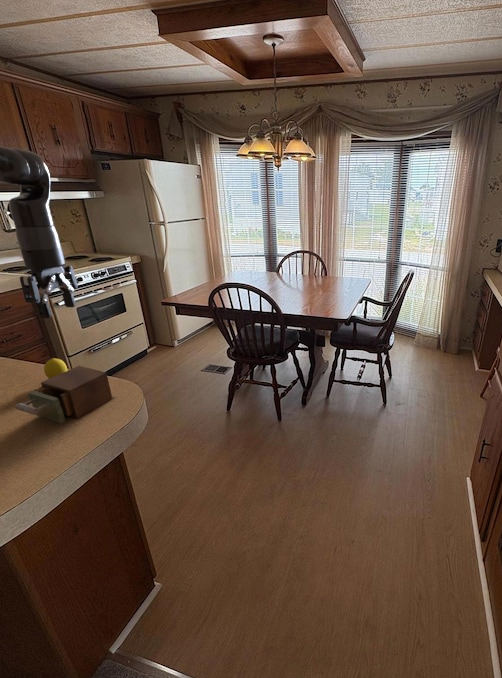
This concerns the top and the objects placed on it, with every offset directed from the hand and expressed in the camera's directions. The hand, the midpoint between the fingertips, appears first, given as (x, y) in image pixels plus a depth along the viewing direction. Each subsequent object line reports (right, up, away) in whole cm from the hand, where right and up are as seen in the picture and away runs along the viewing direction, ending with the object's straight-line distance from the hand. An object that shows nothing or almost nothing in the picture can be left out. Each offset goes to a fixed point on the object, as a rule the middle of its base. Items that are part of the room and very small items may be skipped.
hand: (59, 312), depth 85 cm
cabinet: (-2, -25, +11) cm, 28 cm away
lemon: (-17, -20, +22) cm, 35 cm away
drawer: (-4, -27, +5) cm, 28 cm away
